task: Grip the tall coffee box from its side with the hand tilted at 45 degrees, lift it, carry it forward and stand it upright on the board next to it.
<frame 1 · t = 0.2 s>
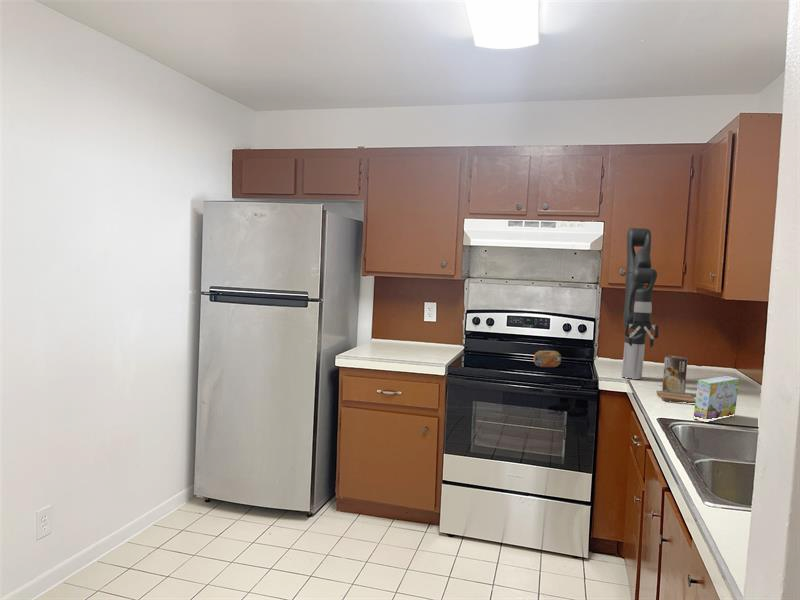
hand: (640, 346, 276), 18 cm above the worktop, tool pointing down, fingers open, 8 cm apart
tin: (546, 367, 309), on the worktop
snack box: (714, 418, 224), on the worktop
board: (676, 399, 251), on the worktop
coffee box: (673, 393, 262), on the worktop
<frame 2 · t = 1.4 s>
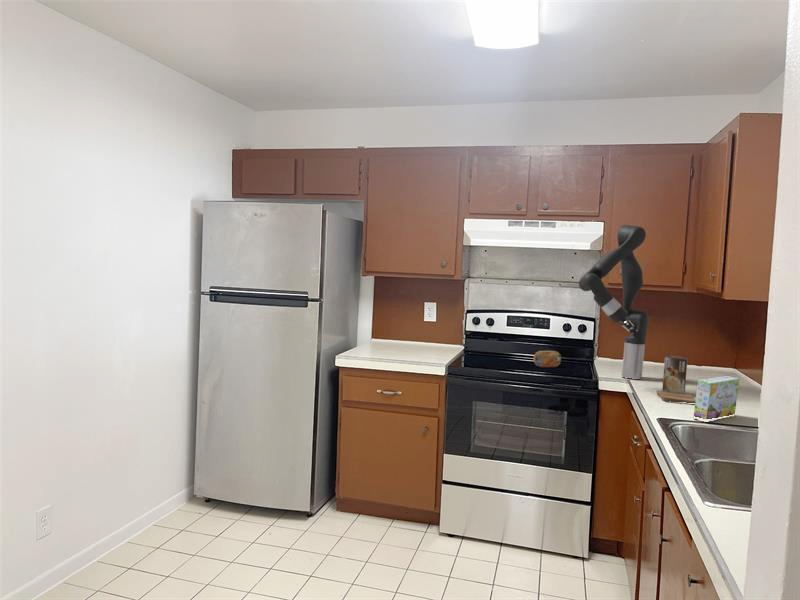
hand: (638, 337, 265), 23 cm above the worktop, tool tilted 45°, fingers open, 8 cm apart
nothing on the worktop moved.
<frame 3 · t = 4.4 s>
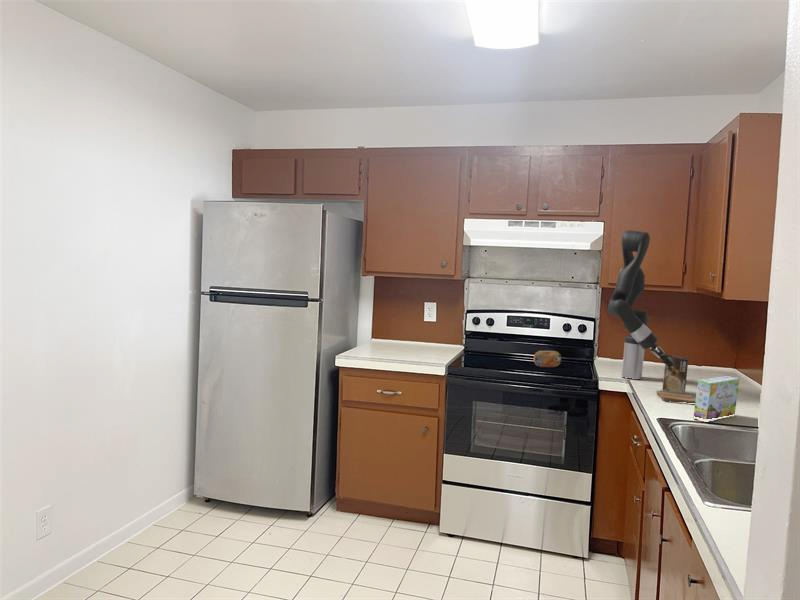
hand: (669, 364, 262), 13 cm above the worktop, tool tilted 45°, fingers open, 8 cm apart
coffee box: (673, 393, 262), on the worktop, touching gripper
everything else where it was.
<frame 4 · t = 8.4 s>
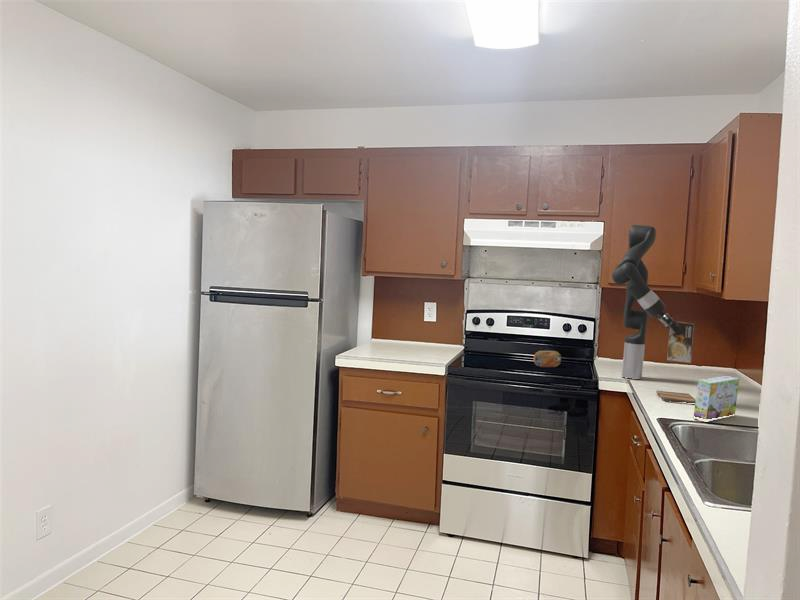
hand: (677, 333, 250), 28 cm above the worktop, tool tilted 45°, fingers closed on coffee box, 7 cm apart
coffee box: (678, 361, 250), point 16 cm above the worktop, touching gripper
everything else where it was.
when the fingers open (15 cm above the worktop, at t = 11.6 s): coffee box drops 2 cm, resting on board.
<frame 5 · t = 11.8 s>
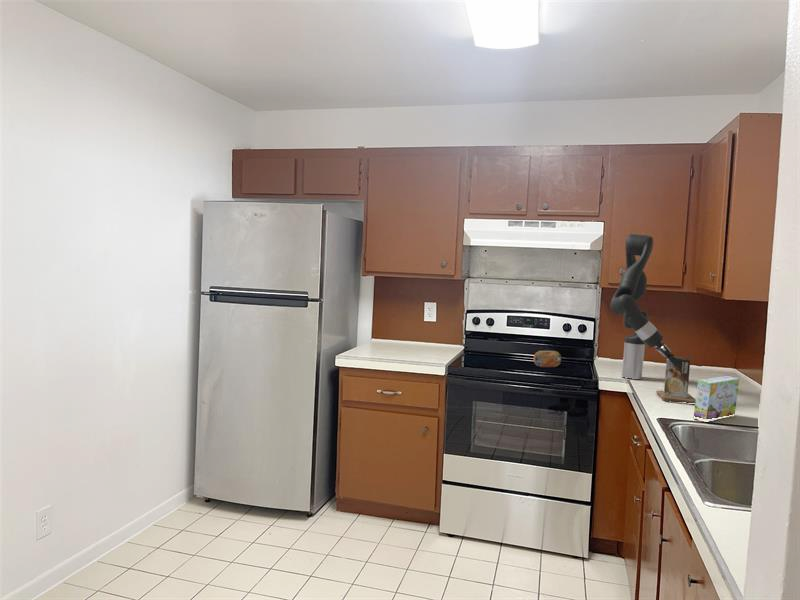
hand: (675, 363, 250), 15 cm above the worktop, tool tilted 45°, fingers open, 8 cm apart
coffee box: (675, 396, 251), point 1 cm above the worktop, touching board, gripper
everything else where it was.
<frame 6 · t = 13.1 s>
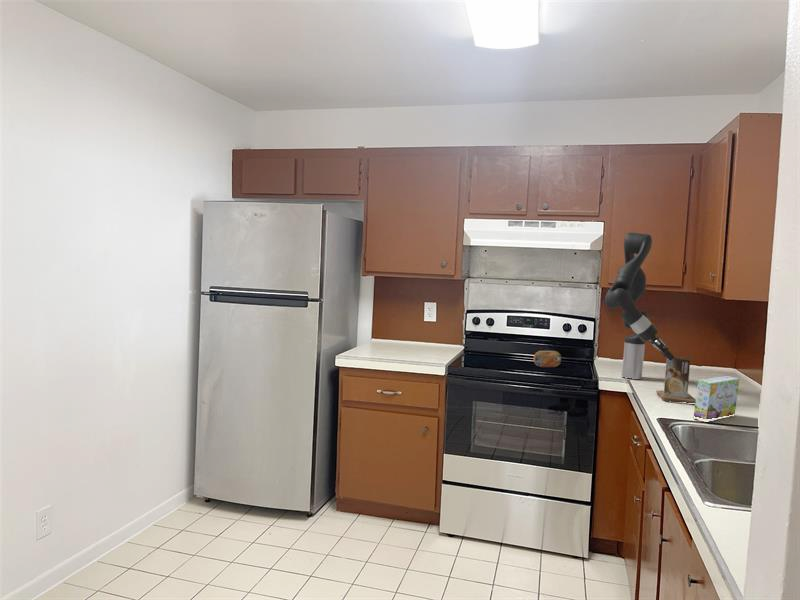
hand: (669, 357, 250), 18 cm above the worktop, tool tilted 45°, fingers open, 8 cm apart
nothing on the worktop moved.
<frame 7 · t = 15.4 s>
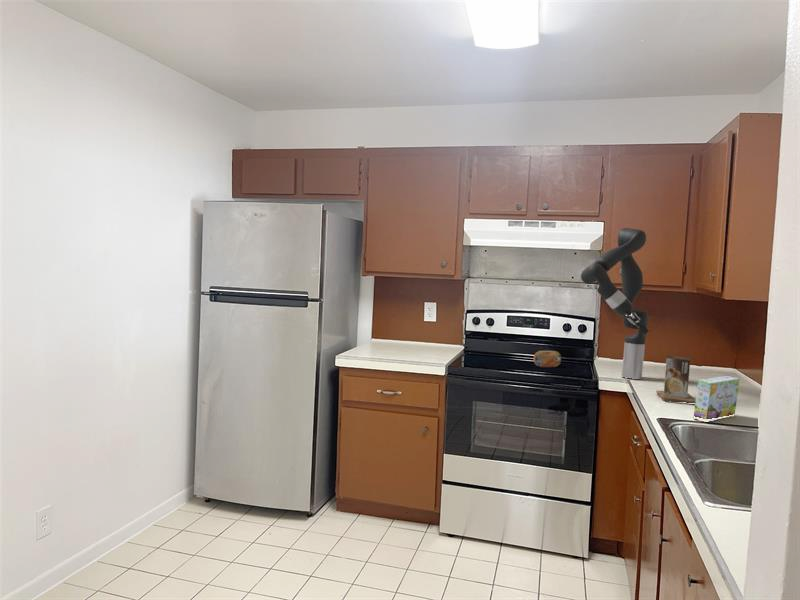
hand: (644, 331, 254), 27 cm above the worktop, tool tilted 45°, fingers open, 8 cm apart
coffee box: (675, 396, 251), point 1 cm above the worktop, touching board
everything else where it was.
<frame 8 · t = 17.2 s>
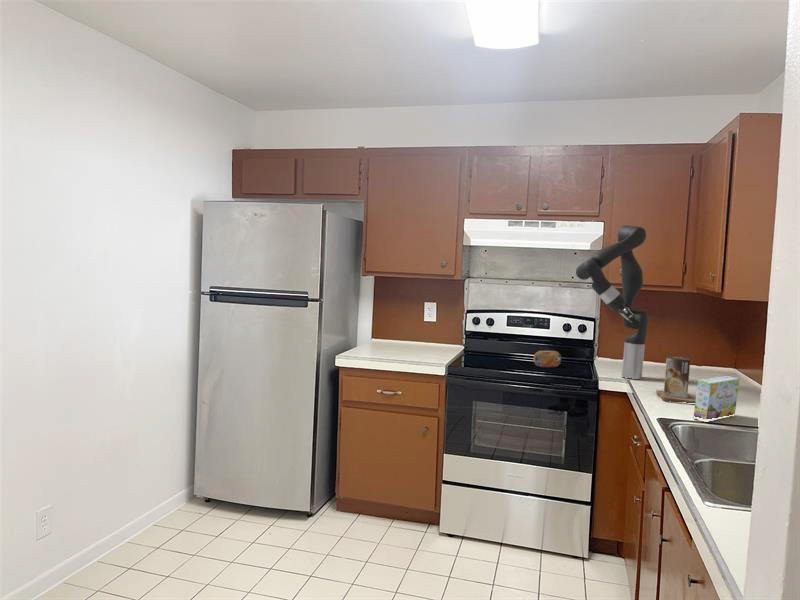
hand: (637, 326, 260), 29 cm above the worktop, tool tilted 45°, fingers open, 8 cm apart
nothing on the worktop moved.
at the end: coffee box inside the target area on the board (0.6 cm from its centre), point 1.3 cm above the board's base; coffee box tilted 0°; the gripper is holding nothing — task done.
